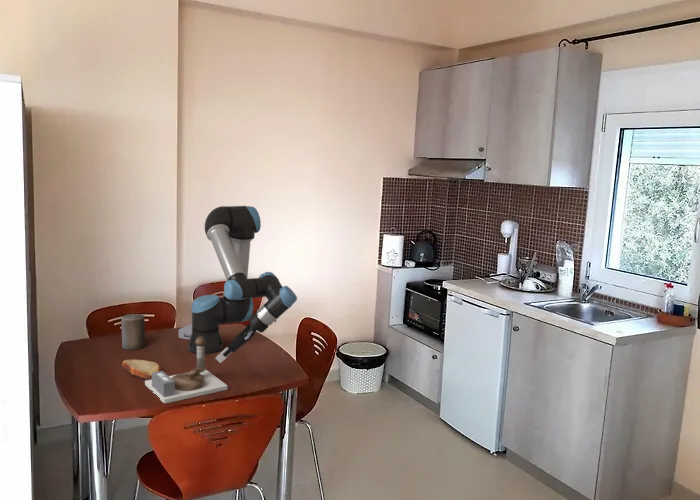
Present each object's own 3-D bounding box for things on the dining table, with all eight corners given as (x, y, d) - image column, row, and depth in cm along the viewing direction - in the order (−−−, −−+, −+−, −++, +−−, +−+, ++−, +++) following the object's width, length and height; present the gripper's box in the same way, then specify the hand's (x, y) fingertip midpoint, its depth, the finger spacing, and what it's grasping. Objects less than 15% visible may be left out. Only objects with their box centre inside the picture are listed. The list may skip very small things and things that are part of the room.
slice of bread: (124, 363, 247) (124, 354, 246) (168, 364, 248) (168, 355, 247) (109, 379, 229) (109, 370, 228) (157, 380, 230) (157, 371, 229)
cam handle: (193, 392, 215) (193, 350, 213) (164, 387, 219) (163, 346, 216) (217, 376, 231) (217, 337, 229) (189, 371, 235) (189, 333, 232)
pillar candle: (149, 346, 267) (149, 313, 265) (131, 351, 259) (130, 318, 257) (135, 341, 273) (134, 309, 270) (117, 347, 264) (116, 314, 262)
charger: (212, 332, 292) (195, 340, 278) (195, 329, 295) (178, 338, 281) (212, 322, 291) (195, 331, 277) (195, 320, 294) (178, 328, 280)
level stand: (145, 384, 225) (144, 367, 224) (205, 372, 239) (205, 356, 238) (164, 403, 209) (164, 385, 208) (227, 389, 224) (227, 372, 222)
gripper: (268, 330, 224) (223, 373, 225) (270, 320, 237) (226, 360, 238) (254, 316, 223) (208, 359, 224) (256, 307, 236) (213, 348, 237)
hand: (218, 360), depth 231 cm, fingers closed
